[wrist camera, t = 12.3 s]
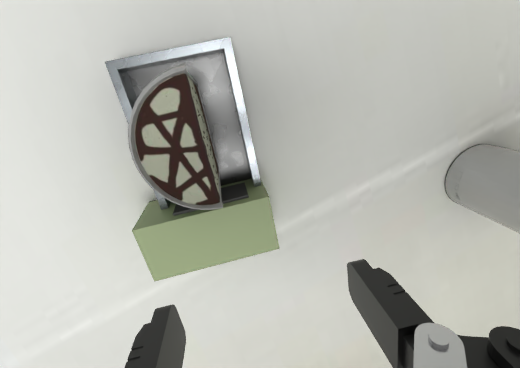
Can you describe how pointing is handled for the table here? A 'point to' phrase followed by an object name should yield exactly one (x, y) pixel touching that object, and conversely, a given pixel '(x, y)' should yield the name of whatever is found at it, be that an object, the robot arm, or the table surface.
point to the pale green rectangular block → (206, 231)
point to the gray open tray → (212, 94)
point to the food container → (175, 141)
